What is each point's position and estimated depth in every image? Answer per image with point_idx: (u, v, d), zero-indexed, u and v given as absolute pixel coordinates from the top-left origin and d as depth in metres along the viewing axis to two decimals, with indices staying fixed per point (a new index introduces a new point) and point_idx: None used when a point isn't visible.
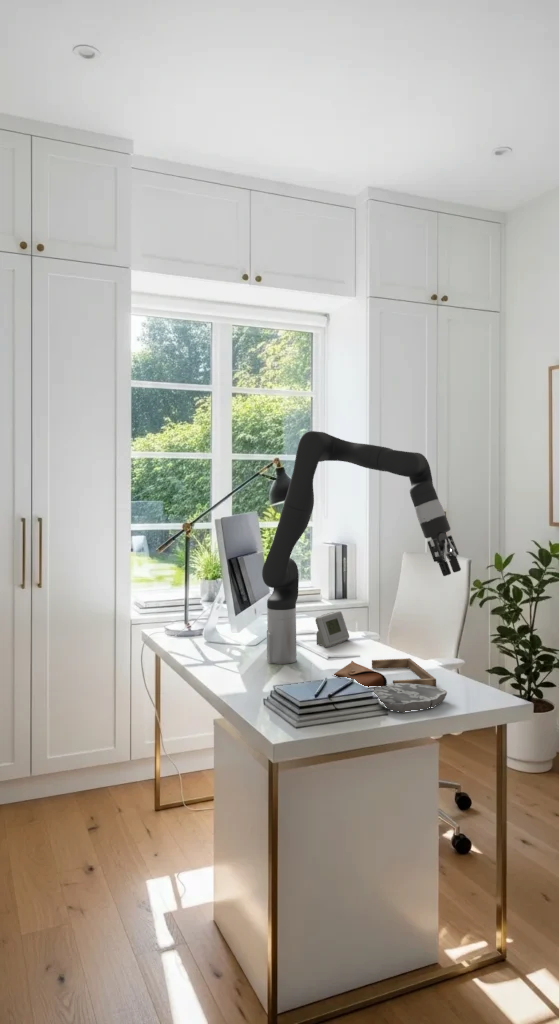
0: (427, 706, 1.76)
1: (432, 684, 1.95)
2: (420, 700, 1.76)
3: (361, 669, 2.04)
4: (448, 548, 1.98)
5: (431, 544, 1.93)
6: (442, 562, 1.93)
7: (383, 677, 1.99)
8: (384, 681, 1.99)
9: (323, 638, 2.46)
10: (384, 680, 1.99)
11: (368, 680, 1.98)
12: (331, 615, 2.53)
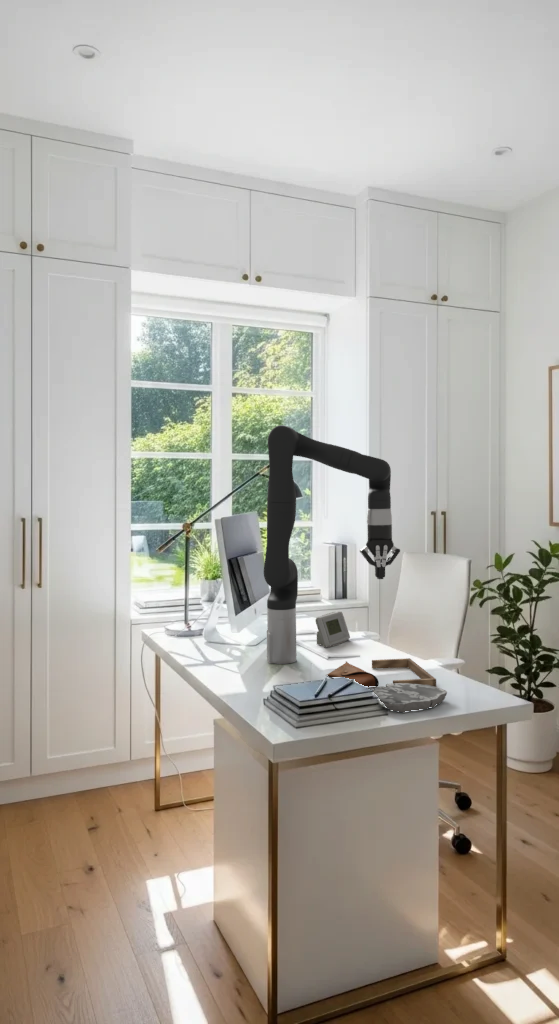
0: (427, 706, 1.76)
1: (432, 684, 1.95)
2: (420, 700, 1.76)
3: (353, 670, 2.03)
4: None
5: None
6: None
7: (375, 678, 1.98)
8: (376, 682, 1.98)
9: (323, 638, 2.46)
10: (376, 681, 1.98)
11: (359, 681, 1.97)
12: (331, 615, 2.53)
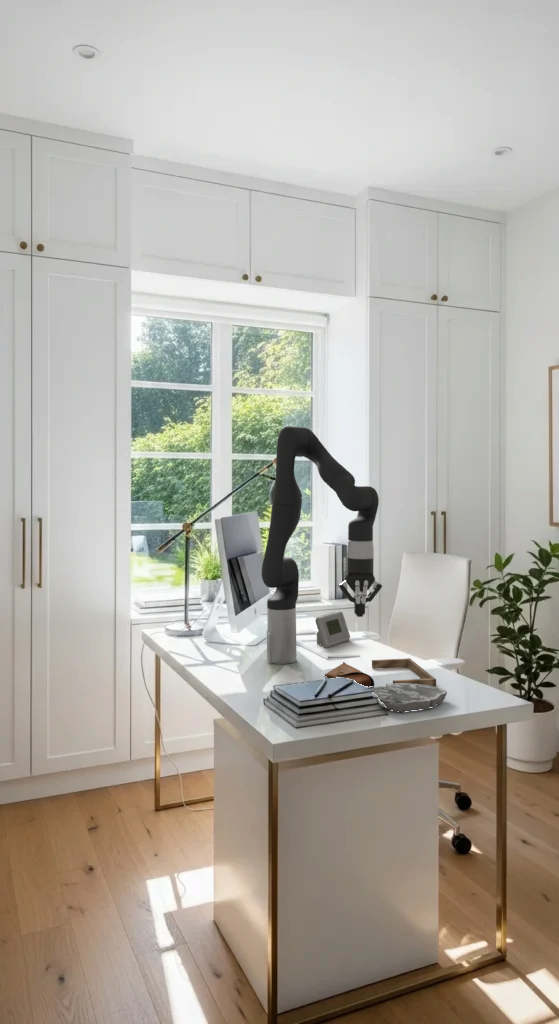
0: (427, 706, 1.76)
1: (432, 684, 1.95)
2: (420, 700, 1.76)
3: (350, 670, 2.03)
4: None
5: None
6: None
7: (370, 679, 1.97)
8: (371, 683, 1.97)
9: (323, 638, 2.45)
10: (371, 682, 1.97)
11: None
12: (331, 615, 2.52)
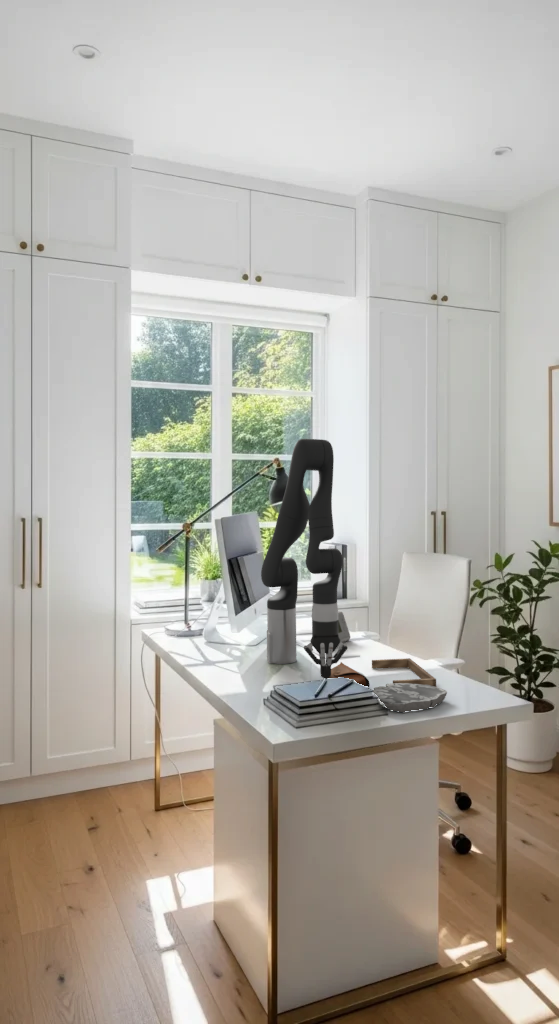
0: (427, 706, 1.76)
1: (432, 684, 1.95)
2: (420, 700, 1.76)
3: (346, 671, 2.03)
4: None
5: None
6: None
7: (366, 679, 1.97)
8: (367, 683, 1.97)
9: None
10: (367, 682, 1.97)
11: None
12: None
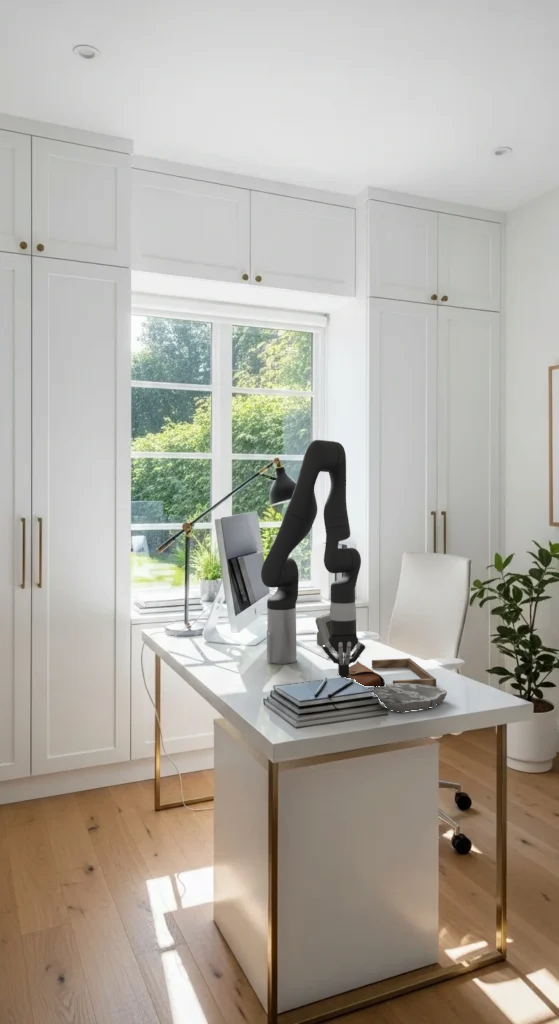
0: (427, 706, 1.76)
1: (432, 684, 1.95)
2: (420, 700, 1.76)
3: (361, 670, 2.04)
4: None
5: None
6: None
7: (381, 678, 1.98)
8: (382, 682, 1.98)
9: (323, 638, 2.45)
10: (382, 681, 1.98)
11: (365, 681, 1.98)
12: None
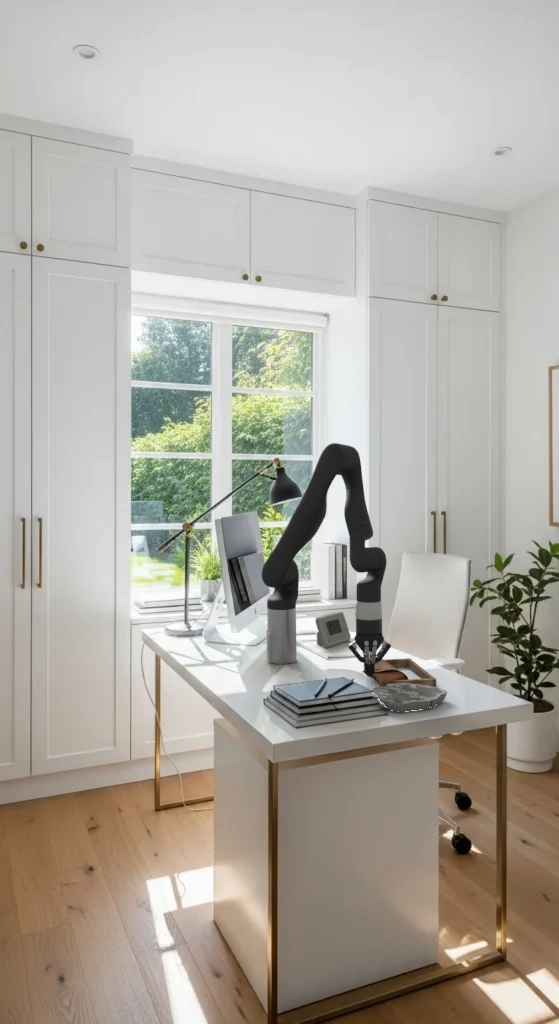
0: (427, 706, 1.76)
1: (432, 684, 1.95)
2: (420, 700, 1.76)
3: (386, 668, 2.06)
4: None
5: None
6: None
7: (405, 676, 1.99)
8: None
9: (323, 639, 2.45)
10: (406, 679, 1.99)
11: (389, 679, 2.00)
12: (332, 616, 2.52)
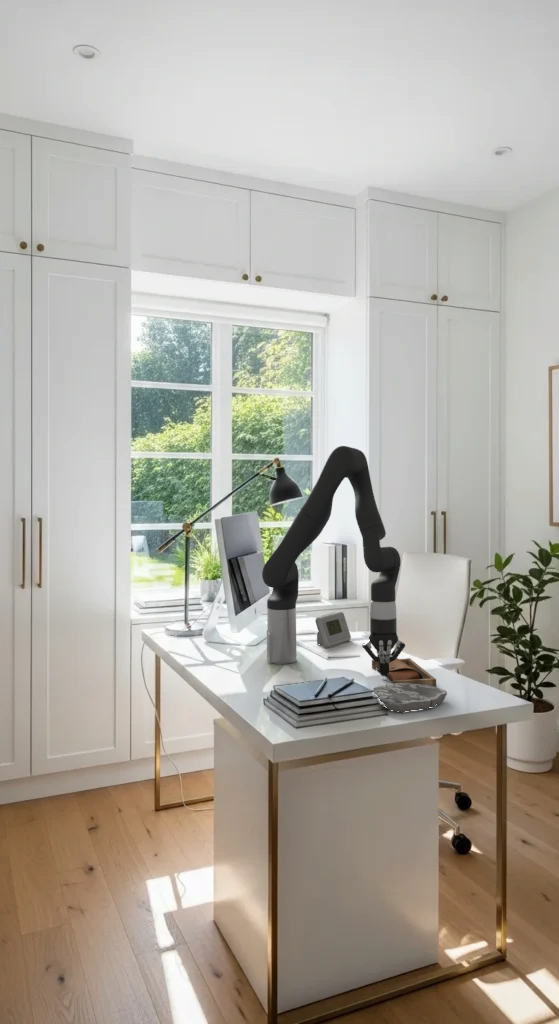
0: (427, 706, 1.76)
1: (432, 684, 1.95)
2: (420, 700, 1.76)
3: (400, 666, 2.07)
4: None
5: None
6: None
7: (419, 675, 2.00)
8: None
9: (323, 639, 2.45)
10: (420, 678, 2.00)
11: (404, 677, 2.01)
12: (332, 616, 2.52)
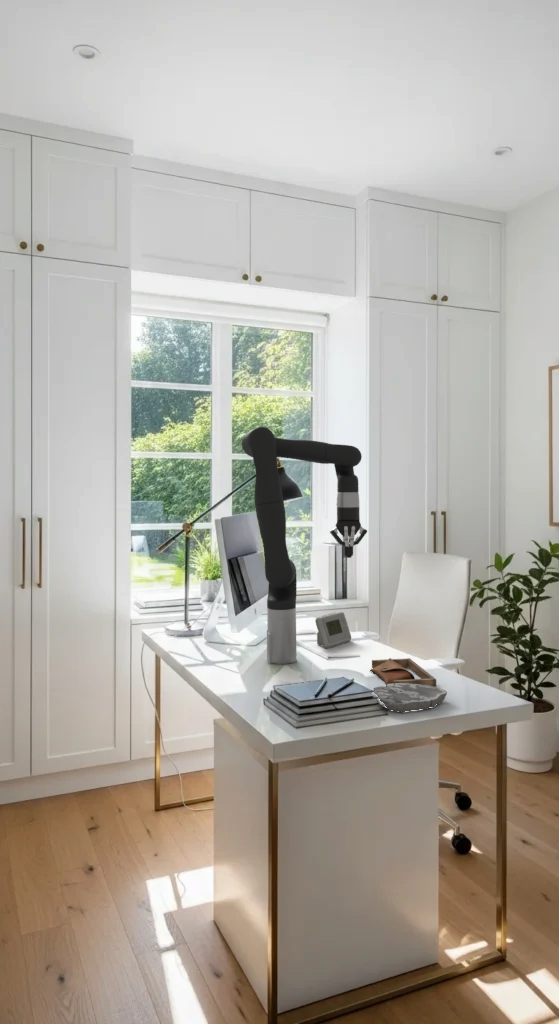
0: (427, 706, 1.76)
1: (432, 684, 1.95)
2: (419, 700, 1.76)
3: (393, 666, 2.06)
4: None
5: None
6: None
7: (411, 675, 2.00)
8: None
9: (322, 639, 2.45)
10: (412, 678, 2.00)
11: (395, 677, 2.00)
12: (332, 616, 2.51)
